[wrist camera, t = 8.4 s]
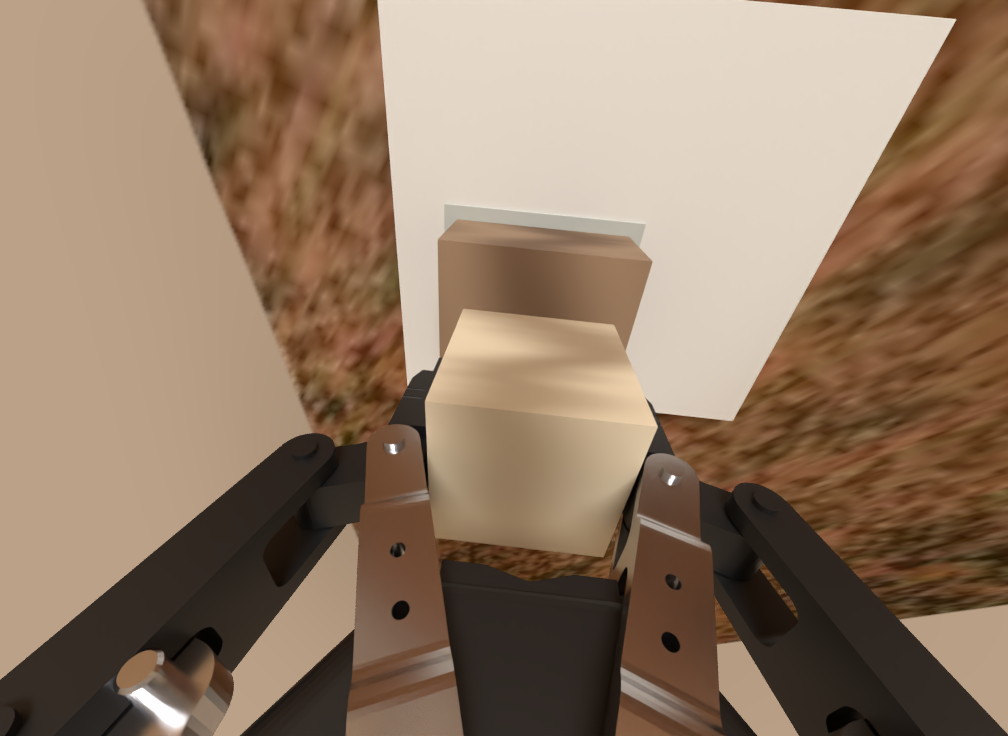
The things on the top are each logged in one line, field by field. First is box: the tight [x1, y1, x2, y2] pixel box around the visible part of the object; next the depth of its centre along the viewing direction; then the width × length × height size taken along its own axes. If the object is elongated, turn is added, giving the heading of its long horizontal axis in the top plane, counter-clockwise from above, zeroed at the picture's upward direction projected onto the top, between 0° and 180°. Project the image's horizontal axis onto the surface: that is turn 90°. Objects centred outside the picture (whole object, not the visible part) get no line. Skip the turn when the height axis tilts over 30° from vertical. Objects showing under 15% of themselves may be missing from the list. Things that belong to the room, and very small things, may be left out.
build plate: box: [378, 0, 956, 421], centre depth 18 cm, size 20×18×1 cm
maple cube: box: [425, 309, 658, 557], centre depth 11 cm, size 5×5×5 cm
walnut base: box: [438, 219, 653, 358], centre depth 17 cm, size 8×8×4 cm
